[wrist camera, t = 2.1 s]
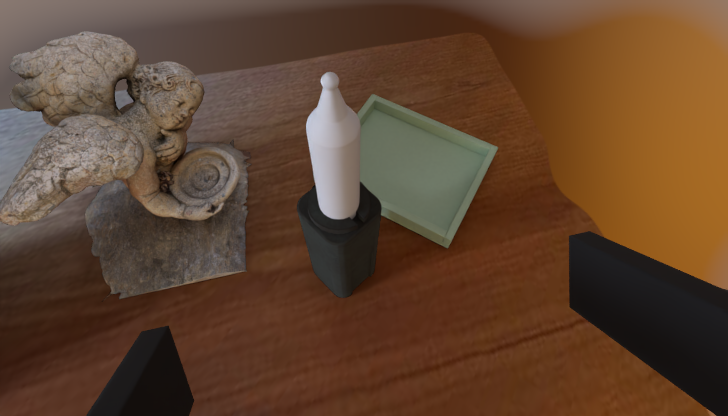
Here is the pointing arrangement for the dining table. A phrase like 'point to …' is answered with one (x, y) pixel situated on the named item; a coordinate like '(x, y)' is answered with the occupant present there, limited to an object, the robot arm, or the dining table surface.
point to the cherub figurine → (130, 165)
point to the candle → (338, 197)
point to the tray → (419, 168)
